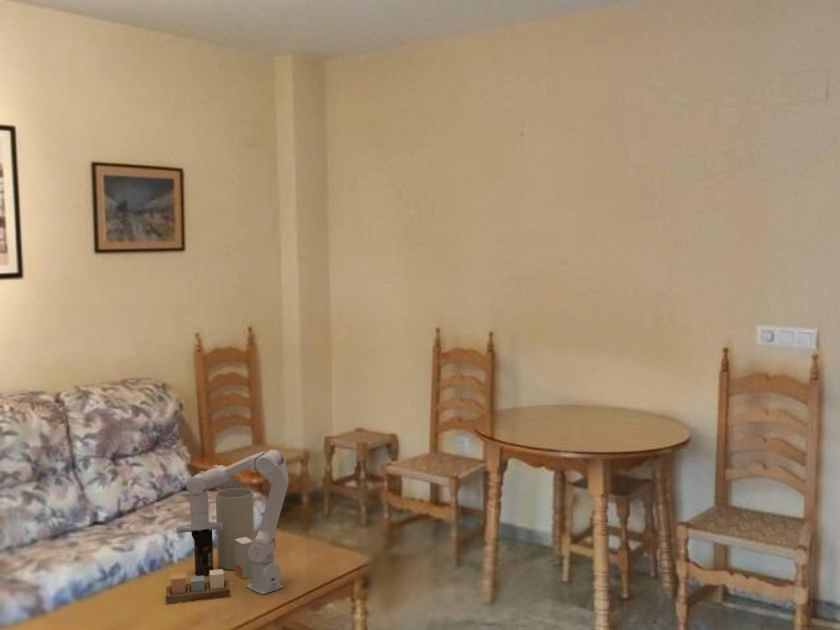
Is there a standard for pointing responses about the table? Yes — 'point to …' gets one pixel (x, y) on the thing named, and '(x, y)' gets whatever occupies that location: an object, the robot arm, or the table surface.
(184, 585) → the terracotta key
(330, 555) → the table surface
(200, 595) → the socket board
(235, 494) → the cylinder vase
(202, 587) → the slate blue key
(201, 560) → the deodorant
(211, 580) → the cream key
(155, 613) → the table surface
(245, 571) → the skincare box
